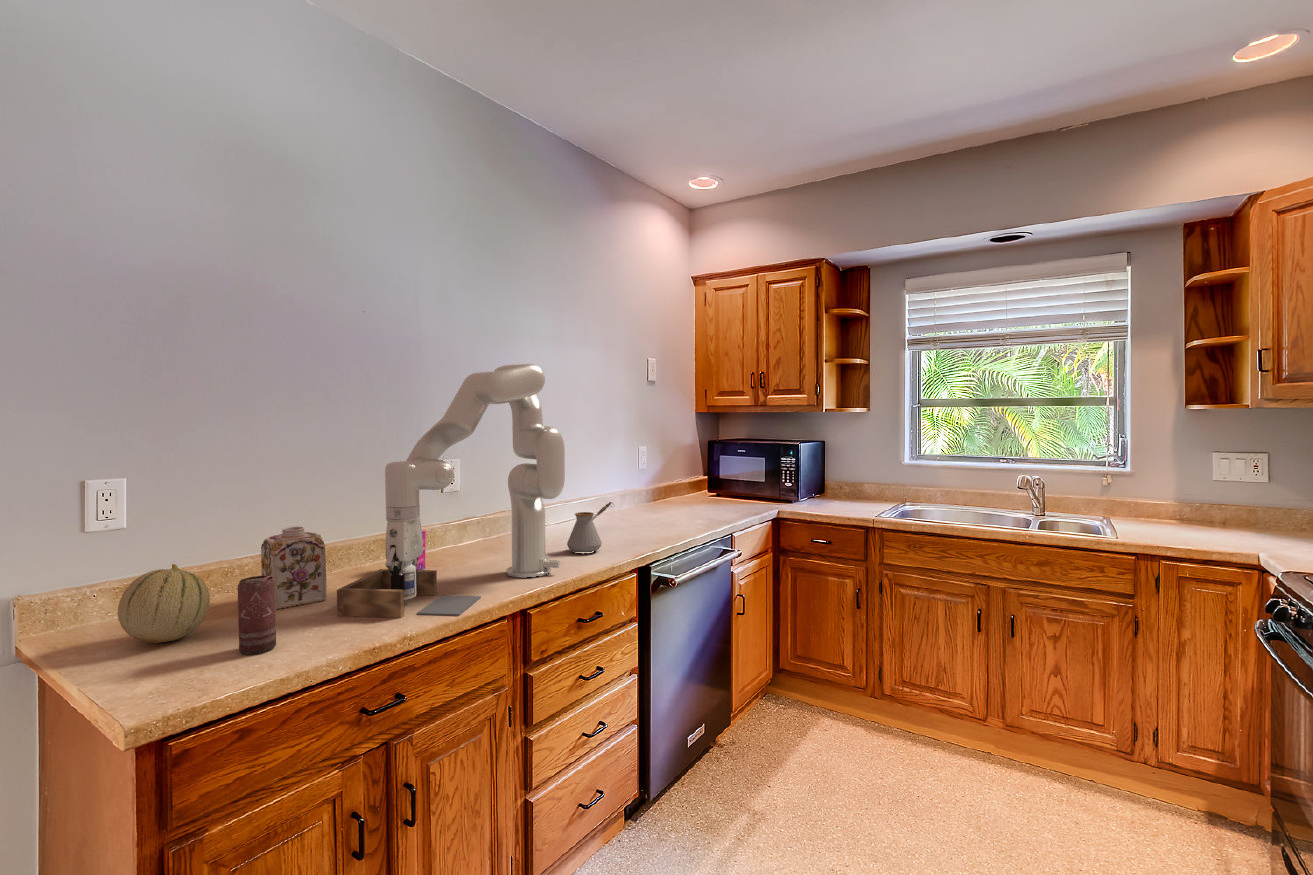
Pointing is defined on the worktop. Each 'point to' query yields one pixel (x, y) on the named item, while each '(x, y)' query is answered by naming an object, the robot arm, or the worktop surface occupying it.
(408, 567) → the pill bottle
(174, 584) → the cantaloupe
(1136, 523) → the worktop surface
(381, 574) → the open box
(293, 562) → the decorative jar
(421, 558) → the supplement box
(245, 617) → the can
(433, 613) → the mat
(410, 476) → the robot arm
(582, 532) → the coffee pot
